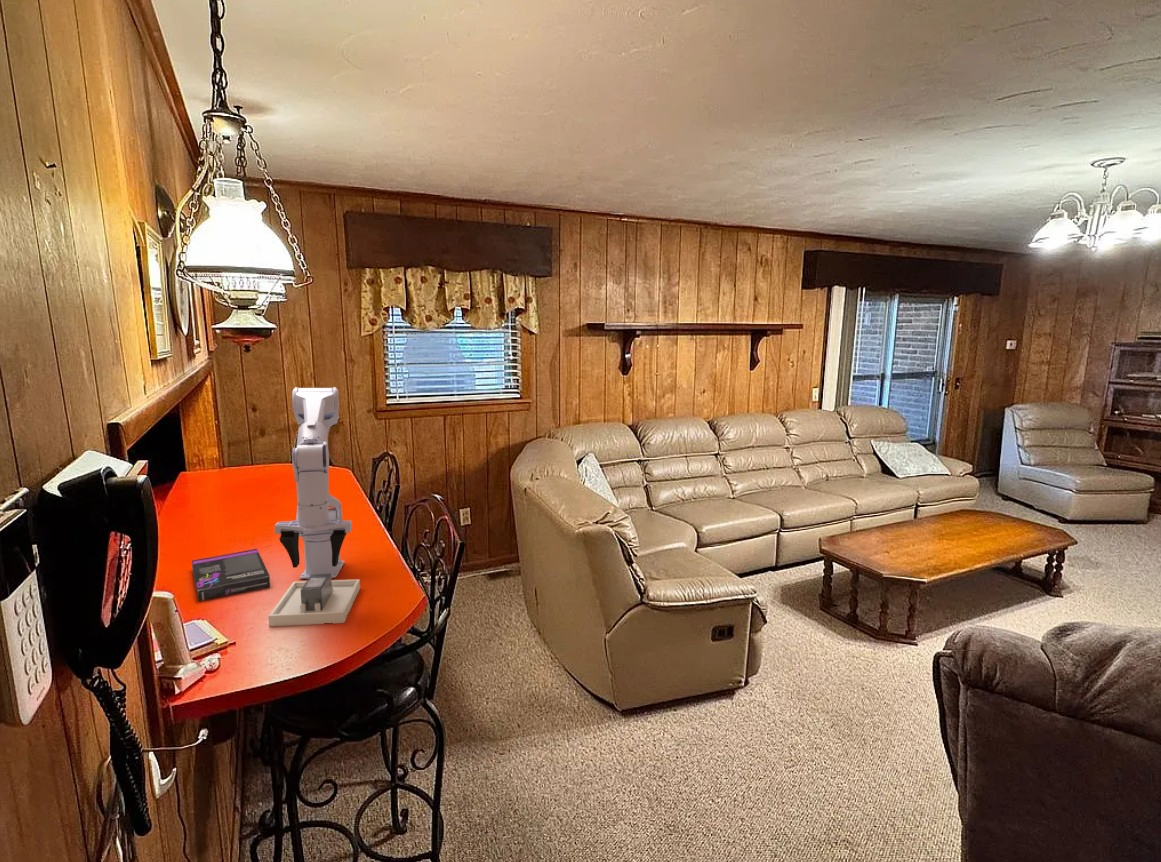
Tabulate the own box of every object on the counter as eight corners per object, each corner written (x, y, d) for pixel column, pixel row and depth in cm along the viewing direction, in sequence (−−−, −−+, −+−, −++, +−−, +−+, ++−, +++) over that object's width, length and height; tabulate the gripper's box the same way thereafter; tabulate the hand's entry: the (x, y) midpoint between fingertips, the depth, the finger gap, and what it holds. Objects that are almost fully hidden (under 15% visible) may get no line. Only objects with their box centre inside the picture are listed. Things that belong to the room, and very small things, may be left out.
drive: (312, 593, 130) (311, 573, 130) (331, 593, 131) (331, 573, 130) (301, 611, 123) (300, 589, 122) (322, 610, 123) (321, 589, 122)
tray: (293, 590, 134) (293, 578, 133) (359, 588, 136) (359, 576, 135) (269, 626, 118) (268, 612, 118) (344, 622, 120) (343, 608, 120)
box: (192, 573, 143) (197, 604, 127) (191, 559, 142) (195, 588, 127) (258, 561, 151) (270, 588, 135) (257, 548, 150) (269, 573, 134)
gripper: (268, 508, 118) (272, 574, 120) (346, 507, 120) (348, 571, 123) (279, 498, 125) (283, 560, 127) (353, 497, 127) (355, 558, 130)
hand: (315, 565), depth 125 cm, fingers open, 7 cm apart
